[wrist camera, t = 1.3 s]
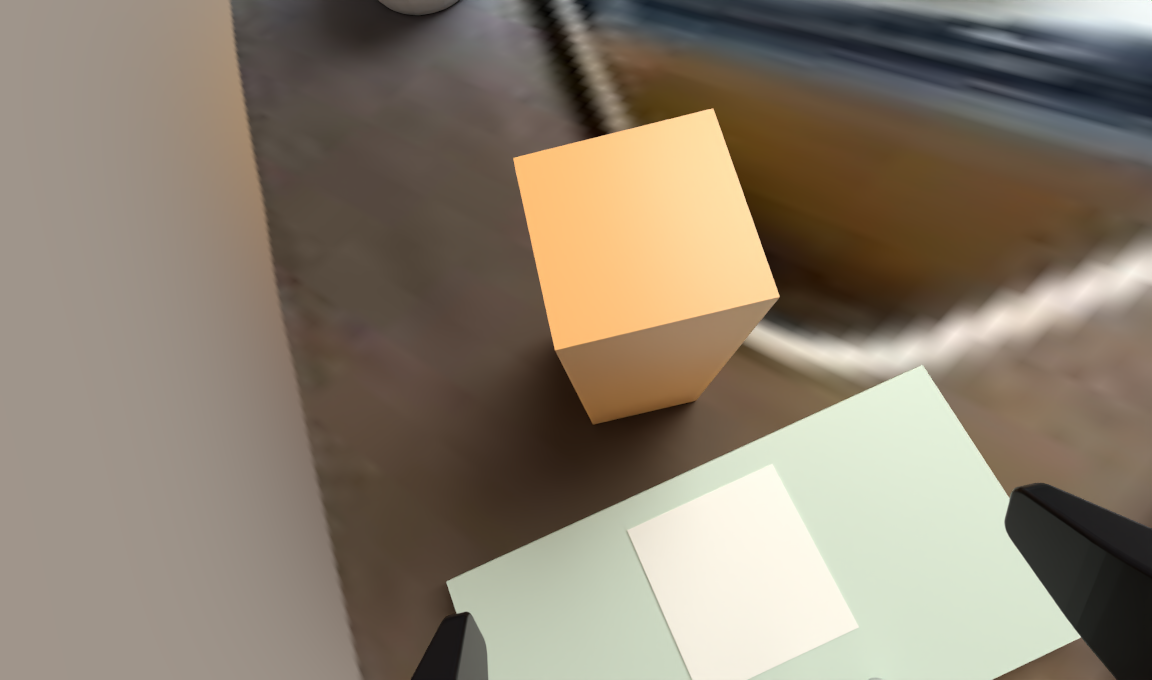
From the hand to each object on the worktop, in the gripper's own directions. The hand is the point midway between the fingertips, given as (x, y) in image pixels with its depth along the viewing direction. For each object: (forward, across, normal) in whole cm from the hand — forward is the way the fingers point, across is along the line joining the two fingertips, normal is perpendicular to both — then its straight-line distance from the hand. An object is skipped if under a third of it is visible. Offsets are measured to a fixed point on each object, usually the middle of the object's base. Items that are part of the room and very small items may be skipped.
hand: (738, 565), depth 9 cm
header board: (+7, -2, +11) cm, 13 cm away
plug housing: (+14, 0, +4) cm, 14 cm away
